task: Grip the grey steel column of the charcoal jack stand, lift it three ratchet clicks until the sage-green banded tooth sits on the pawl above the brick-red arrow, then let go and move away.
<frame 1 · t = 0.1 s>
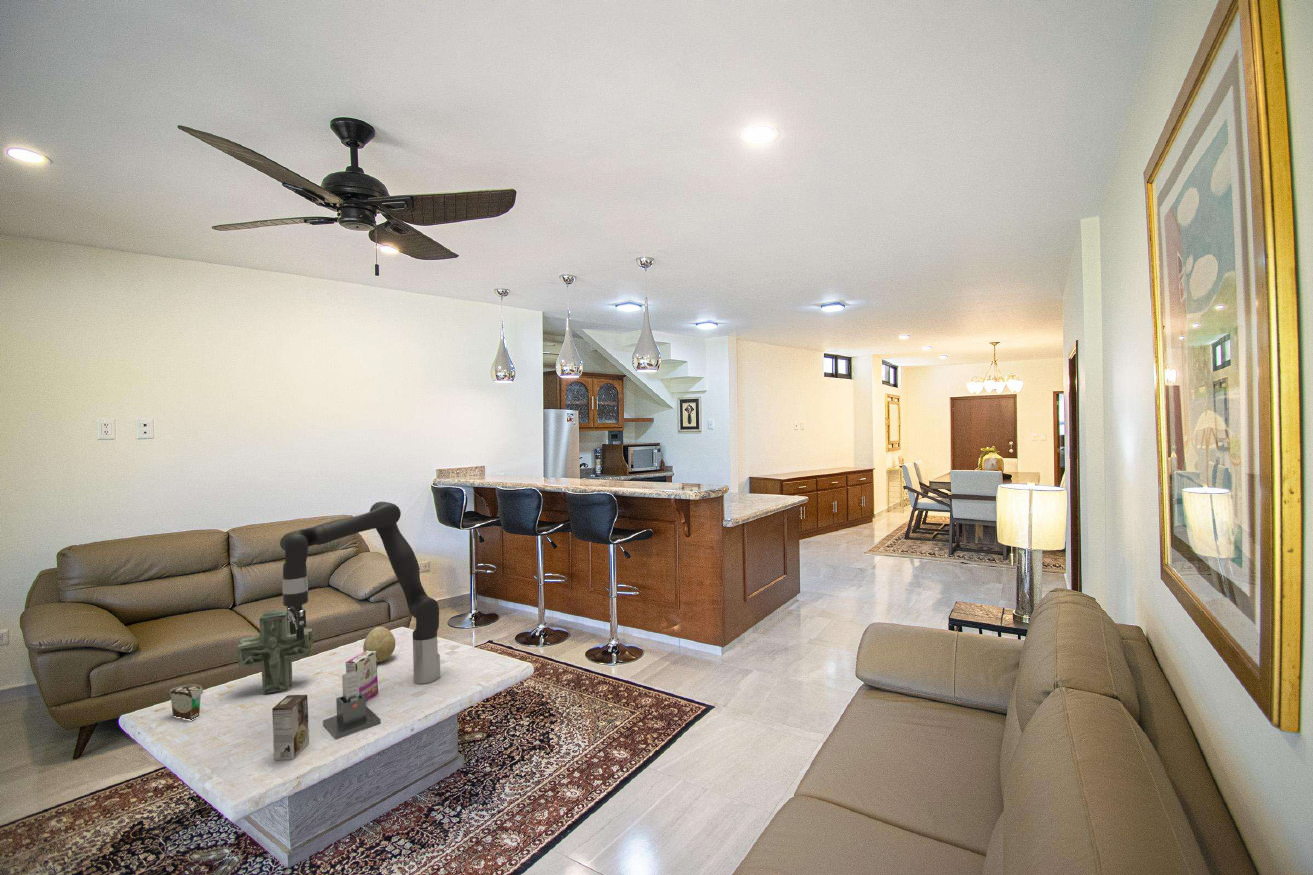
hand: (296, 636, 203), 29 cm above the table, fingers open, 8 cm apart
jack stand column: (351, 697, 200), point 9 cm above the table, slide at 0.0 cm, touching jack stand base
fossilized egg: (379, 661, 255), on the table
food container: (191, 715, 209), on the table
coffee box: (291, 752, 183), on the table
religious sculpture: (277, 689, 229), on the table
jack stand base: (351, 723, 200), on the table
candy bar box: (362, 699, 218), on the table
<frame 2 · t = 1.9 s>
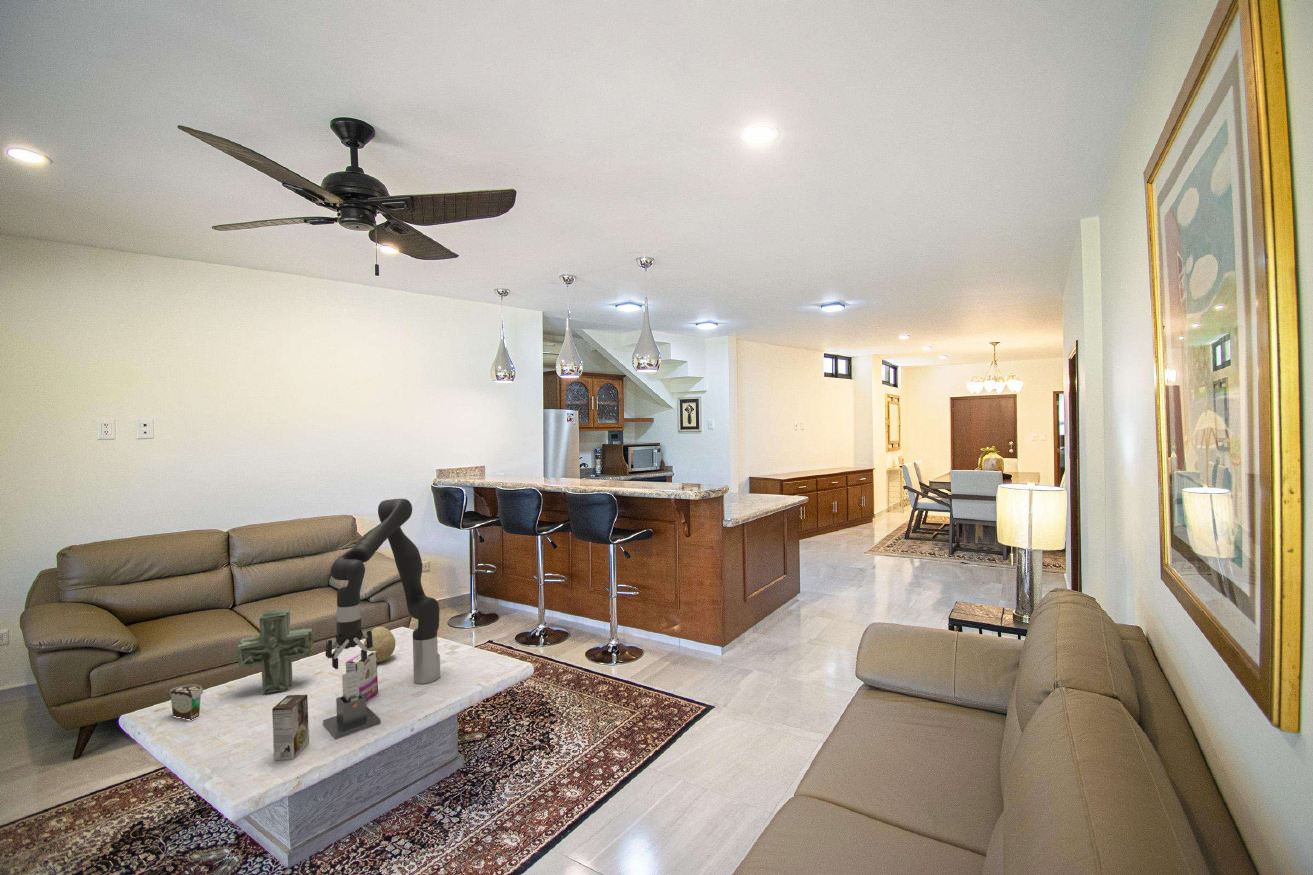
hand: (349, 664, 200), 20 cm above the table, fingers open, 8 cm apart
nothing on the table moved.
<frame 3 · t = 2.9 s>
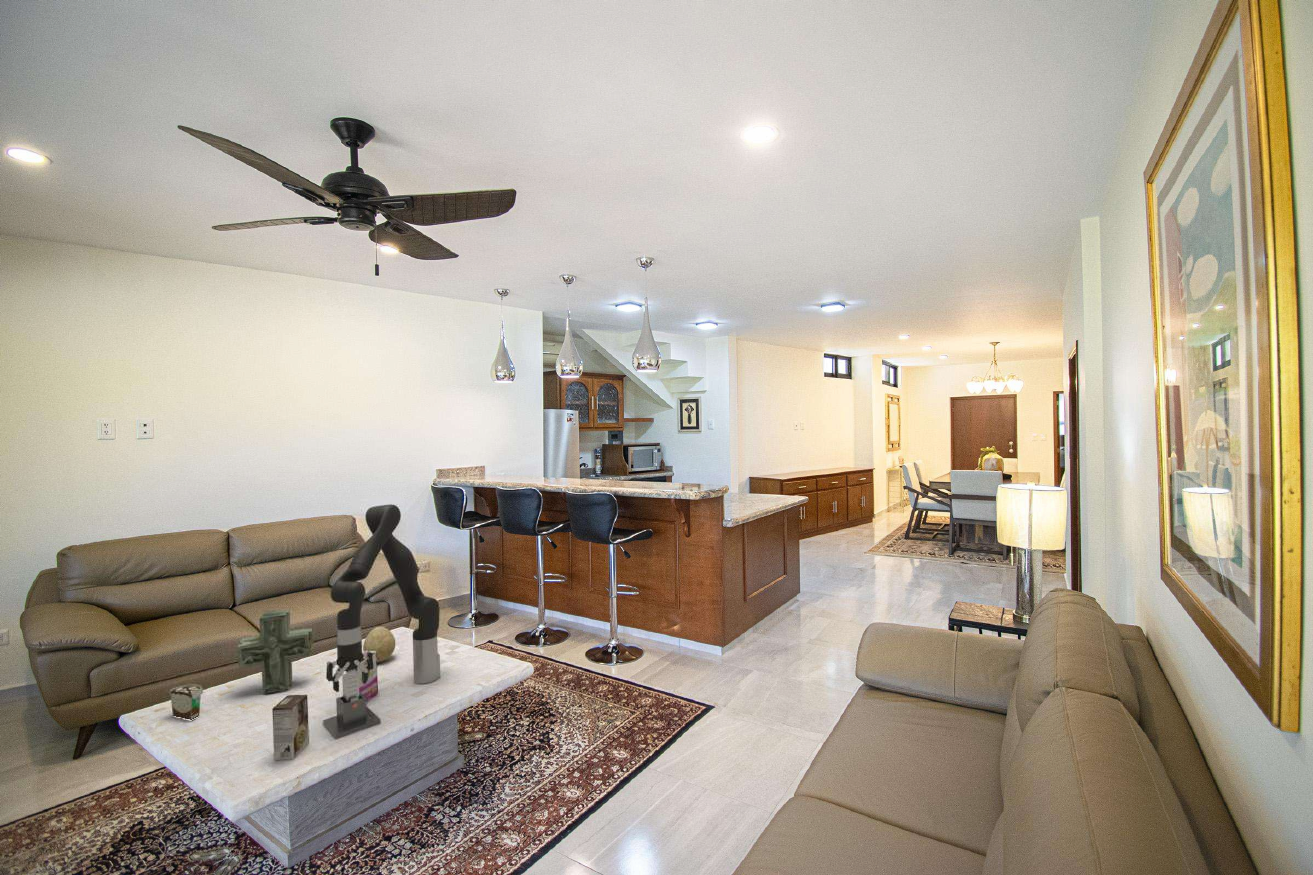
hand: (350, 687, 200), 13 cm above the table, fingers open, 8 cm apart
nothing on the table moved.
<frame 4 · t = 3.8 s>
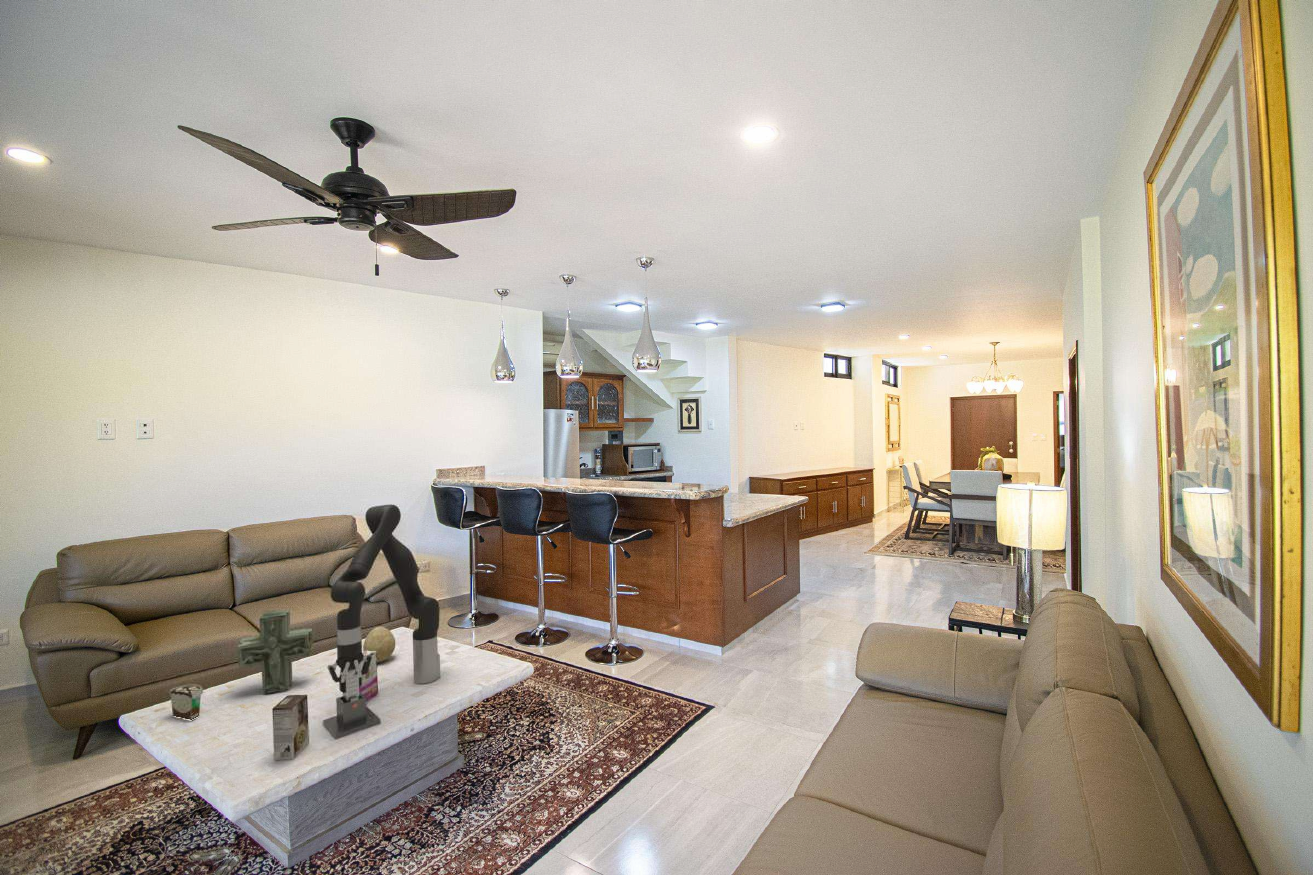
hand: (350, 689, 200), 12 cm above the table, fingers closed on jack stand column, 4 cm apart
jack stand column: (351, 697, 200), point 9 cm above the table, slide at 0.0 cm, touching gripper, jack stand base
everything else where it was.
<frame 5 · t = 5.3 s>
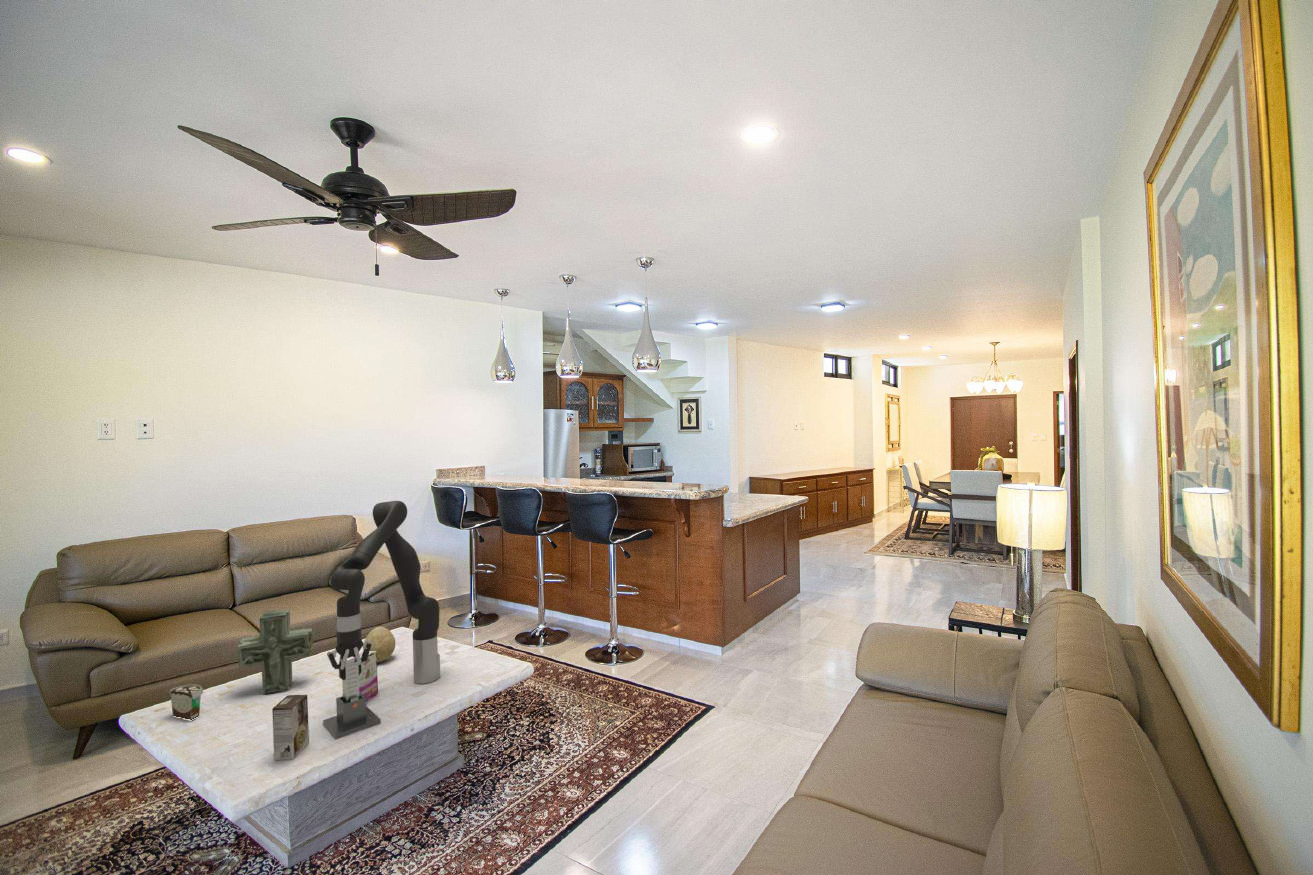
hand: (350, 676, 200), 16 cm above the table, fingers closed on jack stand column, 4 cm apart
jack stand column: (350, 684, 200), point 14 cm above the table, slide at 4.4 cm, touching gripper
everything else where it was.
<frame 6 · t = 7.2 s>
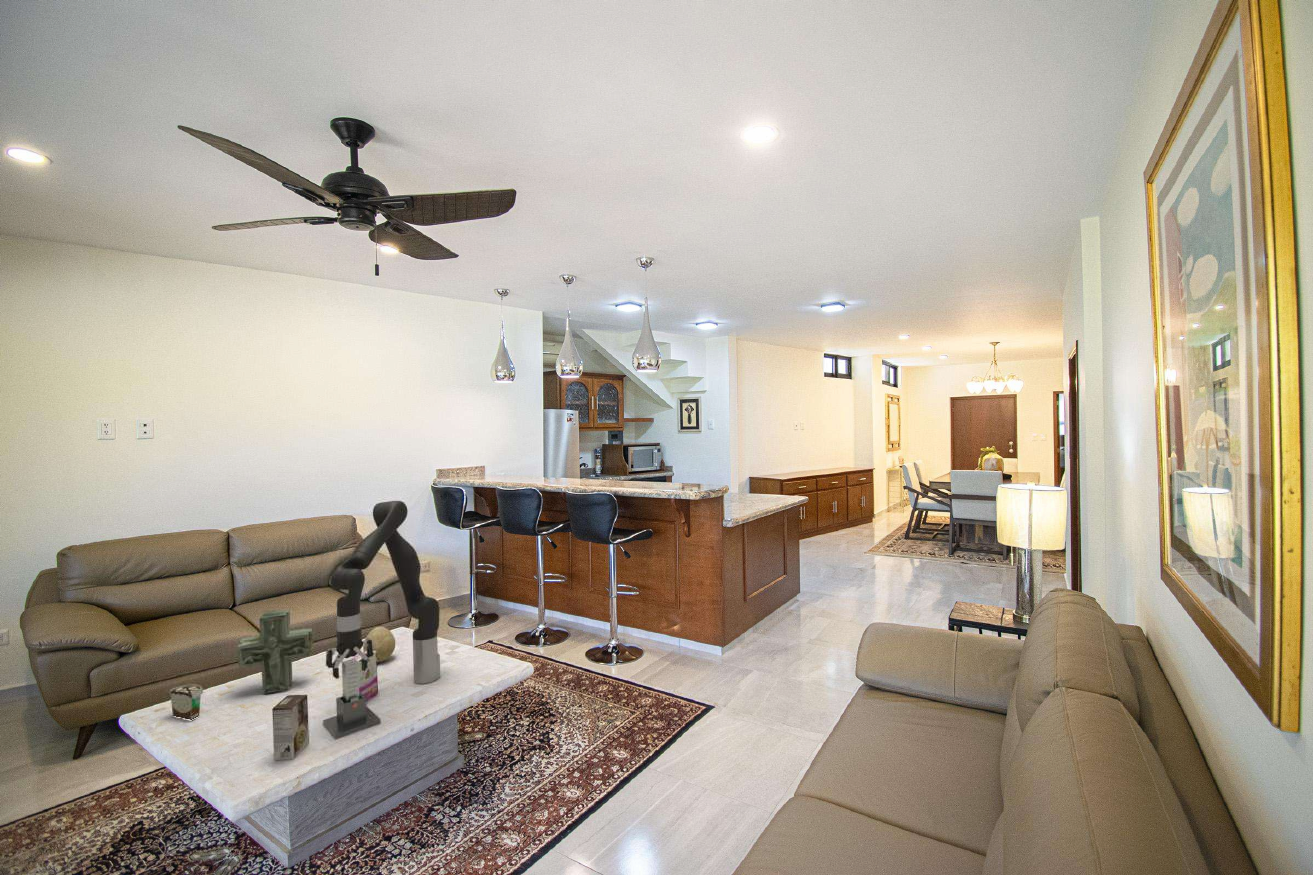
hand: (350, 674, 200), 17 cm above the table, fingers open, 8 cm apart
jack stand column: (350, 684, 200), point 14 cm above the table, slide at 4.5 cm
everything else where it was.
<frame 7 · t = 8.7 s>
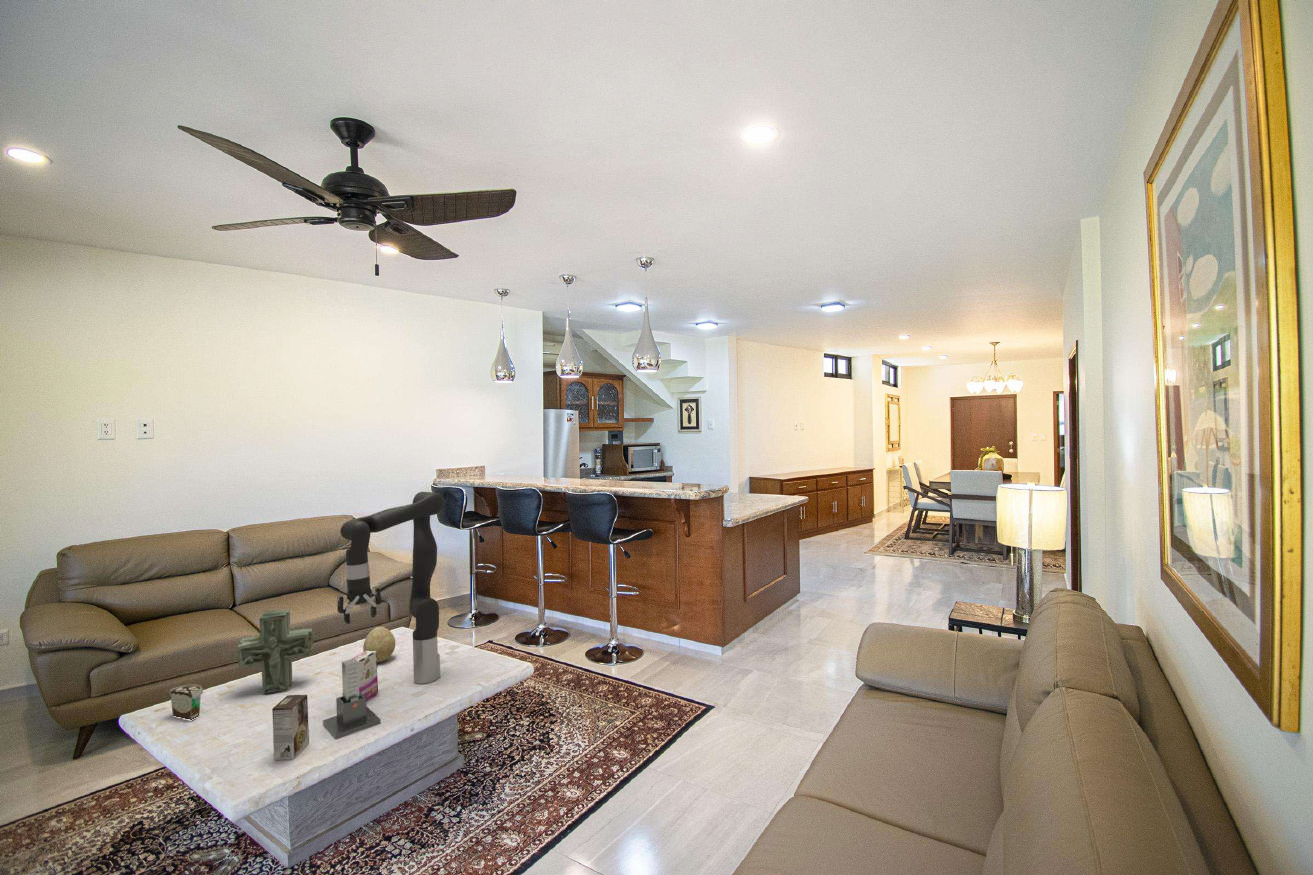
hand: (360, 619, 211), 32 cm above the table, fingers open, 8 cm apart
nothing on the table moved.
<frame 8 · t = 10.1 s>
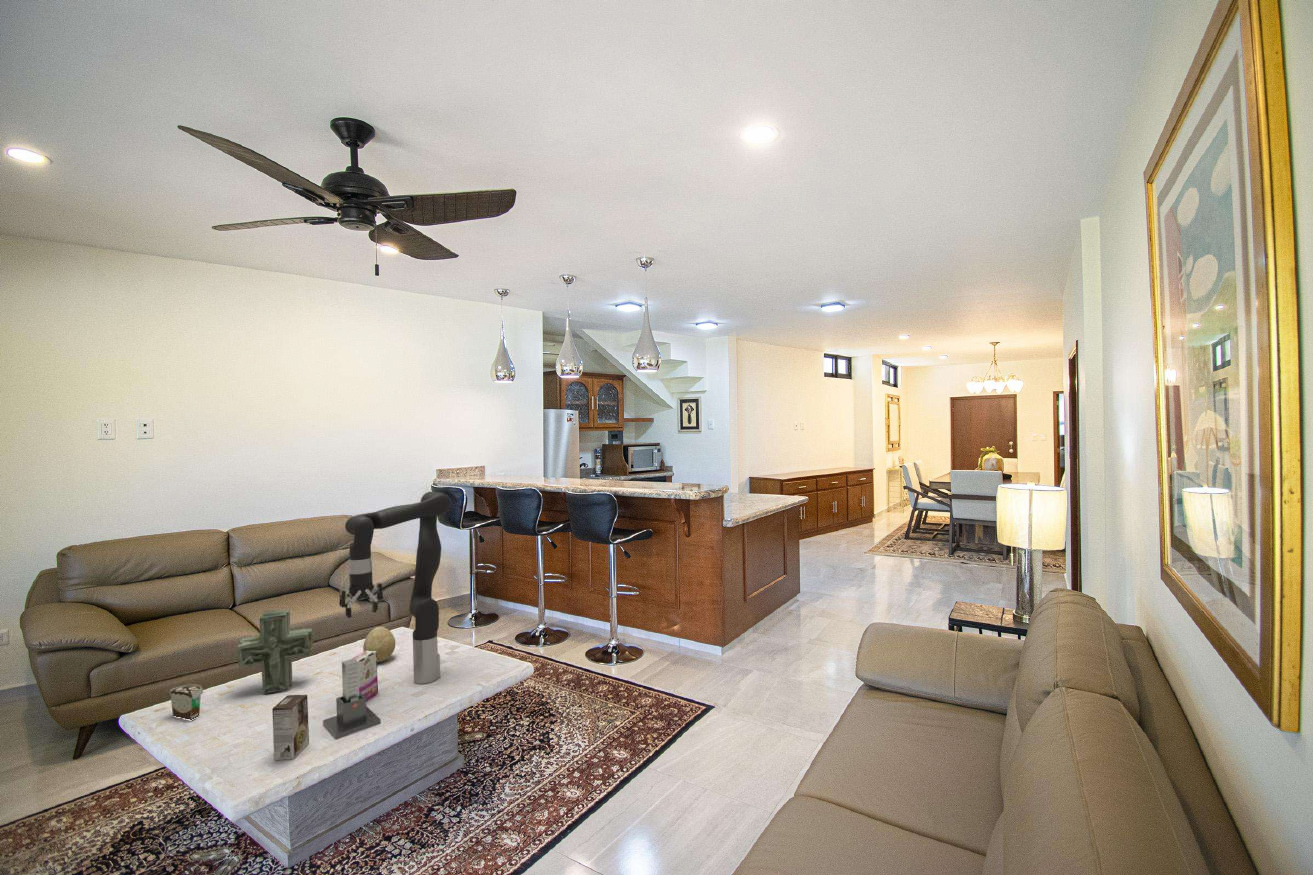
hand: (362, 614, 214), 33 cm above the table, fingers open, 8 cm apart
nothing on the table moved.
at the end: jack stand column slide at 4.5 cm; the gripper is holding nothing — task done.
